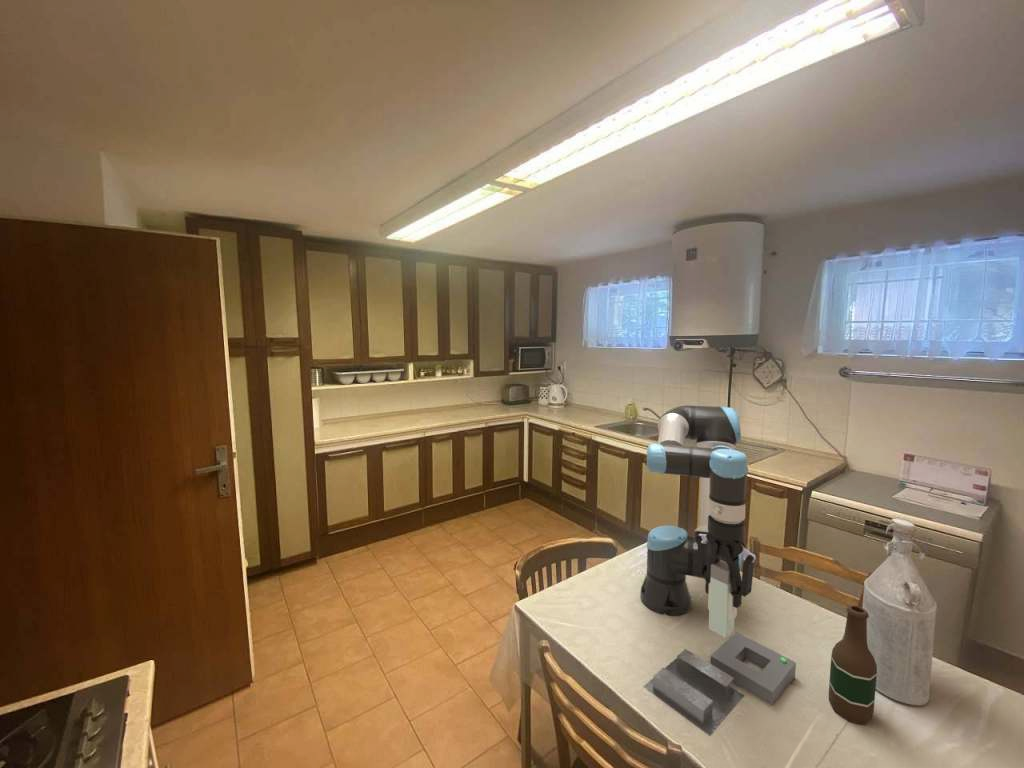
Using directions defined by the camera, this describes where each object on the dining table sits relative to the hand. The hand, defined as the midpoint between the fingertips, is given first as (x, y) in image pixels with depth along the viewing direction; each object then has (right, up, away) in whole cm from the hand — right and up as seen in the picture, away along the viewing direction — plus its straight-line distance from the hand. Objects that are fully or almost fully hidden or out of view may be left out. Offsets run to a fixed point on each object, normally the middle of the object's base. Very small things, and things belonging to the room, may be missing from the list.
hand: (722, 612), depth 99 cm
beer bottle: (+26, -19, -6) cm, 32 cm away
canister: (+42, -18, +2) cm, 46 cm away
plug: (0, -4, 0) cm, 4 cm away
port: (+10, -18, +5) cm, 21 cm away
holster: (-7, -19, -1) cm, 20 cm away
